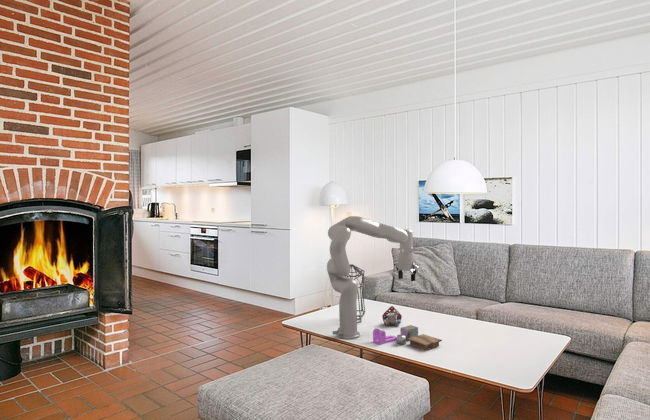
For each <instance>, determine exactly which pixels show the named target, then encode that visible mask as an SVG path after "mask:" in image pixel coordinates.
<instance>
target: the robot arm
mask: <svg viewBox="0 0 650 420" xmlns="http://www.w3.org/2000/svg"><path fill="white" fill-rule="evenodd" d="M352 232H356V233H359V234H363V235H366V236H368V237H369V236H370V237H372V238H378V239H385V240H387V241H388V242H389V243H392V244H393V243H394V244H399V248H398V250H399V252H398V255H397V263H395V264H394V267H395V269H396V271H397V274H398V277H397V279H399V280H401V279H403V278H404V277H403V276H404V272H403V271H406V272H408V271H410V273H411V274H410V281H411V282H416V275H417V273H418V270H419V267H420V266H418V265H417V264H416V259H415V254H414V243H413V240H414V238H413V237H414V236H413V235H414V234H413V232H414V231H413V230H412V229H409V228H408V229H407V228H405V229H401V228H399V227H394V226H391V225H387V224H384V223H380V222H377V221H374V220H371V219H369V218H365V217H362V216H357V215H351V216H347V217H345V218H343V219H341V220H340V221H338V222H337V223H334V224H333V225H331V226H330V227H329V229H328V230H327V235H328V236H327V237H329V239H330V240H331V242H330V245H329V253H330V255H329V256H330V259H329V260H328V261H327V263H326V272H327V275H328V278H329V282H330V284H331V288H332V289H333V290H334V291H335V292H337V293H339V294H340V297H339V301H338V306H339V307H338V309H339V310H338V311H339V312H338V313H339V315H338V317H339V319H338V320H339V326H338V328H337V329H336V330H332V332H331V333H332V335H333V336H335V335H336V336H337V337H338V338H340V339H344V340H351V339H353V340H354V339H357V338H359V337H360V336H361V333H360V332H359V331H358V323H357V322H358V320H357V318H358V317H357V315H358V314H357V313H358V311H357V310H358V306H357V305H358V303H357V301H358V293H359V288H358V287H359V284H358V282H357V281H356V279H355V278H353V277H351V278H350V277H347V275H348V274H349V275H350V274H351V273H350V272H351V269H350V262H349V259H348V258H349V257H348V254H347V251H346V245H347V243H348V241H349V240H350V239H351V235H352ZM349 275H348V276H349ZM352 278H353V279H352ZM354 279H355V280H354Z"/></svg>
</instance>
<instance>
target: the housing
mask: <svg viewBox="0 0 650 420" xmlns="http://www.w3.org/2000/svg"><path fill="white" fill-rule="evenodd" d="M399 330H400V335H405V336H406V342H410V341H409V340H407V339H408V338H411V337H415V336H418V335H419V327H418V326H416V325H412V324H410V325H406V326H402V327H400V329H399Z"/></svg>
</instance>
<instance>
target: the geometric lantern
mask: <svg viewBox="0 0 650 420" xmlns="http://www.w3.org/2000/svg"><path fill="white" fill-rule="evenodd" d="M349 265H350V273H349V274H348V275H347V276H346V277H349V278H352V279H354V280H355V281H356V280H357V281H358V282H359V283H358V284H359V286H358V289H359V292H357V301H358V309H359V310H358V309H357V312H359V313H358V314H357V324H358V323H359V324H360V323H362V318H363V317H365V313H366V308H365V307H366V305H365V299H364V297H365V296H364V290H363V283H364V278H365V270H364V269H362V268H360V267H358V266H356V265H354V264H352V263H351V264H350V263H349ZM353 270H354V271H353ZM353 274H355V275H353ZM360 277H361V282H360V281H359V278H360ZM358 320H359V321H358Z"/></svg>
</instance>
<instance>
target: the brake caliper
mask: <svg viewBox="0 0 650 420" xmlns="http://www.w3.org/2000/svg"><path fill="white" fill-rule="evenodd" d="M381 317H382V322H383V324H382V326H383V327H384V328H386V326H387V327H398V326H400V324H401V323H402V317H403V316H402V314H401V313H400V312H399V311H398V309H396V308H395V307H394V306H393V305H391V306H389V308H388V309H386V310H385V311H384V313H383V314H382V315H381Z"/></svg>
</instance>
